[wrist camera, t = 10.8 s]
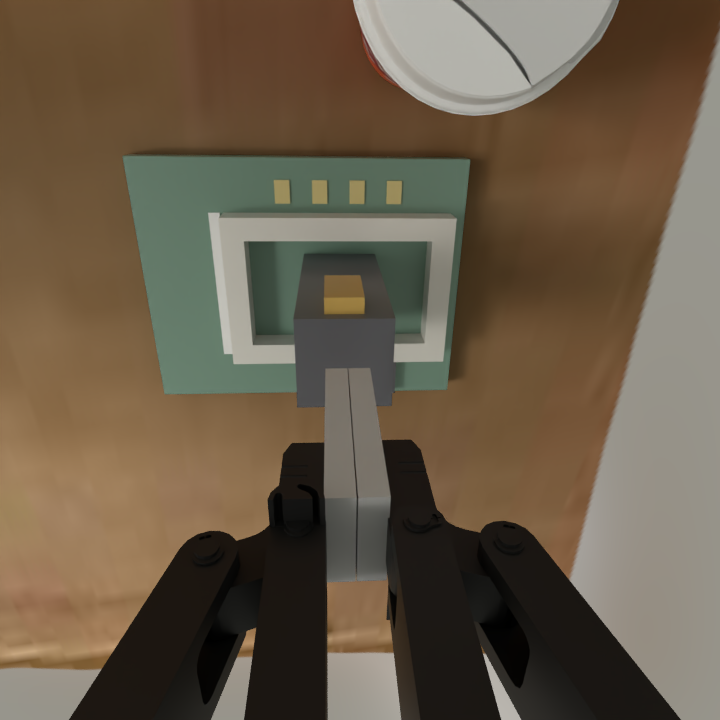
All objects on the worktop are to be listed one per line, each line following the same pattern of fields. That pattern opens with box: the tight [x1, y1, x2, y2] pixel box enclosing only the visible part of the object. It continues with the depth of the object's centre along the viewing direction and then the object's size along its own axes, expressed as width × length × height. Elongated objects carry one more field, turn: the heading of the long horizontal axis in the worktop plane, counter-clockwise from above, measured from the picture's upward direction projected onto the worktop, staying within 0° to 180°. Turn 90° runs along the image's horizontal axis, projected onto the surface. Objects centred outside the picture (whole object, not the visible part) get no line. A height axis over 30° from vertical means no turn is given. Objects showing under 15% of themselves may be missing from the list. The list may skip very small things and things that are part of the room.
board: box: [123, 154, 470, 394], centre depth 30 cm, size 18×14×3 cm
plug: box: [293, 254, 396, 407], centre depth 25 cm, size 4×5×10 cm
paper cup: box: [353, 0, 619, 116], centre depth 19 cm, size 8×8×14 cm
